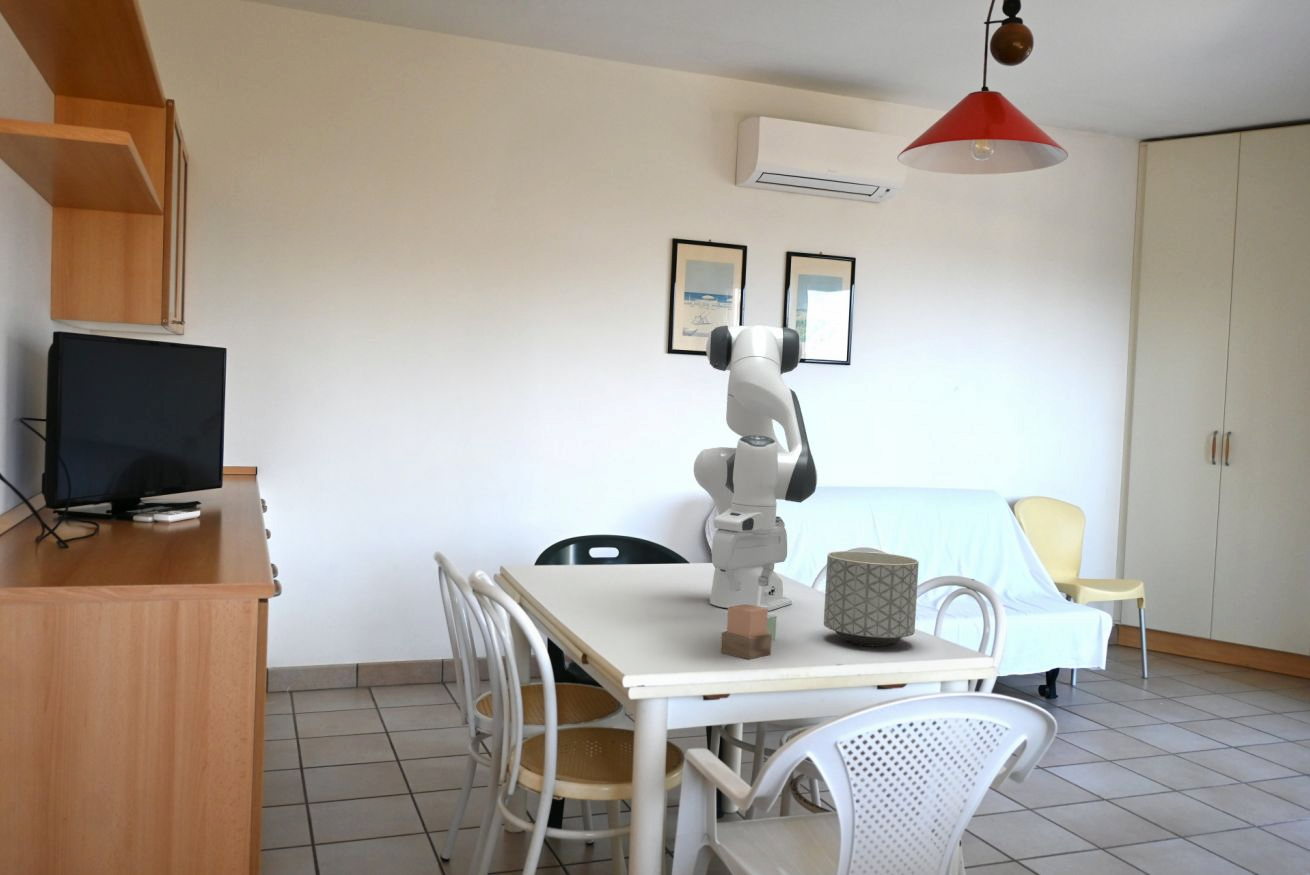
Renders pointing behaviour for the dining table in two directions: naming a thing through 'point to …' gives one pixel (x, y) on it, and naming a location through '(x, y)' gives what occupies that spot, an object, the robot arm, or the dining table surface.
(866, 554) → the planter
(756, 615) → the terracotta block
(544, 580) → the dining table surface
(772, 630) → the sage block
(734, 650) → the walnut base
